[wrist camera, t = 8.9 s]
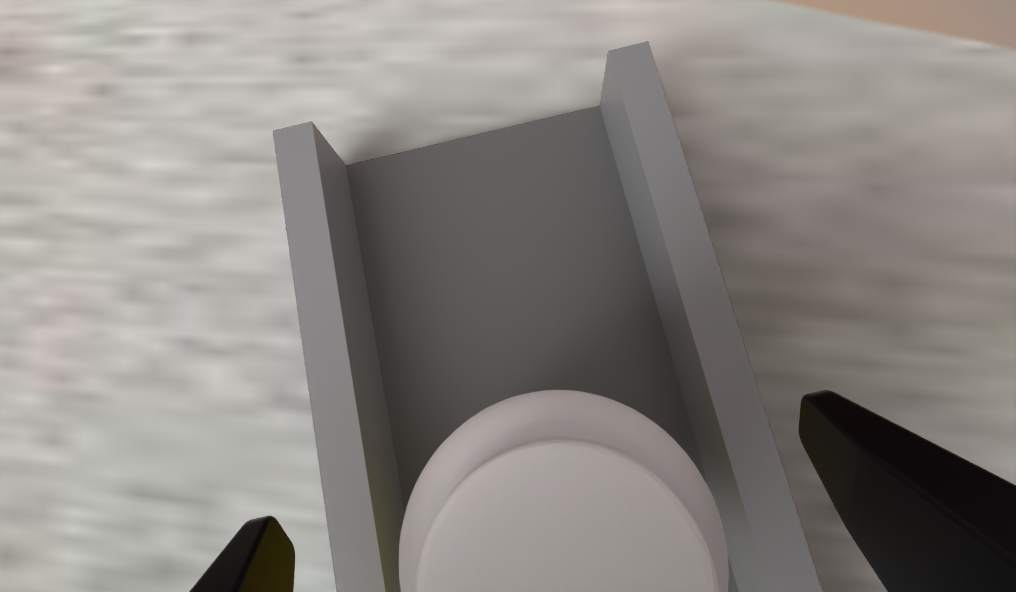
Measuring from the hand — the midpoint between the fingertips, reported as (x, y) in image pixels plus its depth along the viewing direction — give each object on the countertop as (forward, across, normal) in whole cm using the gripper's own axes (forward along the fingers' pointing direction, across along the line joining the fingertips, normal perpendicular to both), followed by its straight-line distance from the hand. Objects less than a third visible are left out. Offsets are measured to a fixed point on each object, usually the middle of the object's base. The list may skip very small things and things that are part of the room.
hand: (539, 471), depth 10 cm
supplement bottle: (+5, 0, +7) cm, 8 cm away
